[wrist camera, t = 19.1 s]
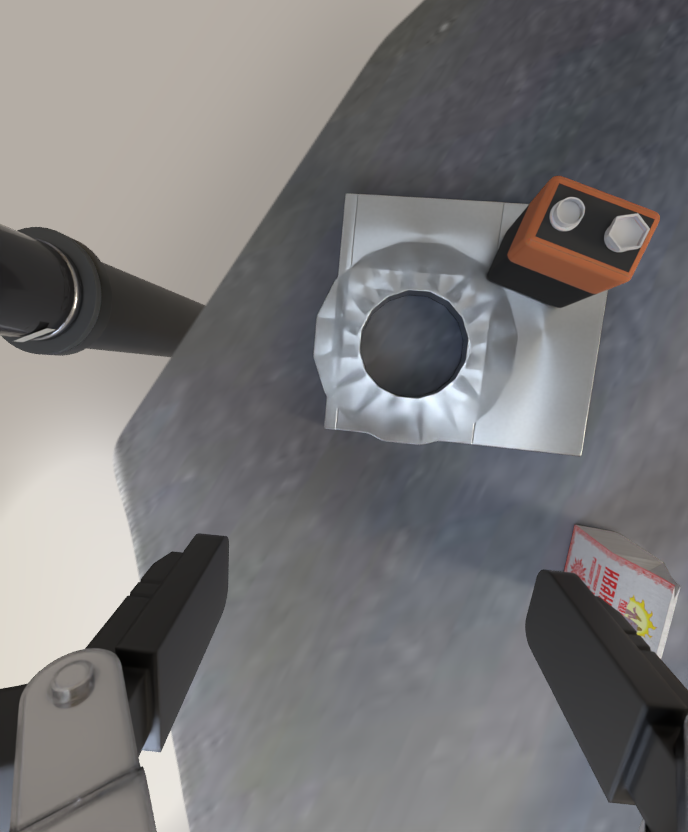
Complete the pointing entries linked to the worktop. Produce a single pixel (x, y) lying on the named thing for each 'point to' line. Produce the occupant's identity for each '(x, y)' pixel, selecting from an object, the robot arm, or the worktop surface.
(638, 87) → the worktop surface
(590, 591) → the robot arm
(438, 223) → the sink plate
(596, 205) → the battery
